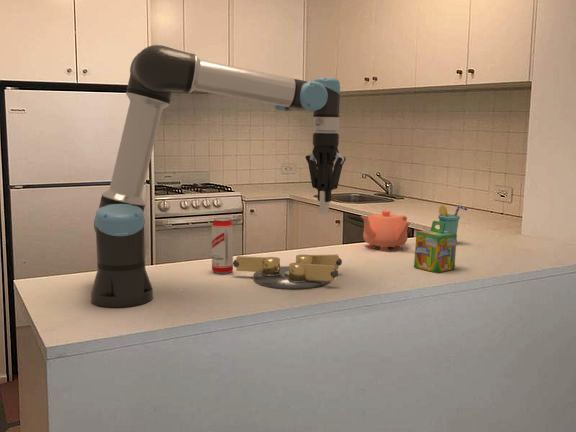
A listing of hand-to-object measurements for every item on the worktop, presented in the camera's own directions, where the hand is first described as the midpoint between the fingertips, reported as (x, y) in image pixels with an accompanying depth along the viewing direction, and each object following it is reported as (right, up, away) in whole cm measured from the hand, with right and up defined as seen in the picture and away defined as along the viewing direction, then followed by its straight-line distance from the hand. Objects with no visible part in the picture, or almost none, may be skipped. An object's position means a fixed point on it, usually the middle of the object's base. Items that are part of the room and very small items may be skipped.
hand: (324, 212), depth 189 cm
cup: (+49, -12, +47) cm, 69 cm away
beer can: (-30, -18, +1) cm, 35 cm away
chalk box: (+35, -18, +9) cm, 40 cm away
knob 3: (-4, -19, -13) cm, 23 cm away
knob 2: (-2, -17, -1) cm, 17 cm away
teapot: (+24, -13, +39) cm, 47 cm away
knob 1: (-20, -17, -5) cm, 27 cm away
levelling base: (-10, -19, -6) cm, 22 cm away
